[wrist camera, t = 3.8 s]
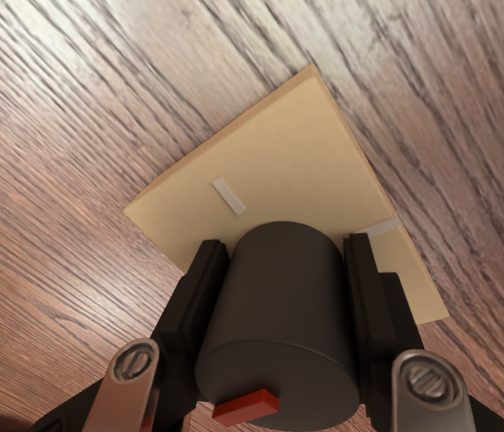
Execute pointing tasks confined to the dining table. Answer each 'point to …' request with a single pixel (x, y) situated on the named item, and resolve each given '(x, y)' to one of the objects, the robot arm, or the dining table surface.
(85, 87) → the dining table surface
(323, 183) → the rotary knob control box
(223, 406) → the dial
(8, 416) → the dining table surface
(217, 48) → the dining table surface
